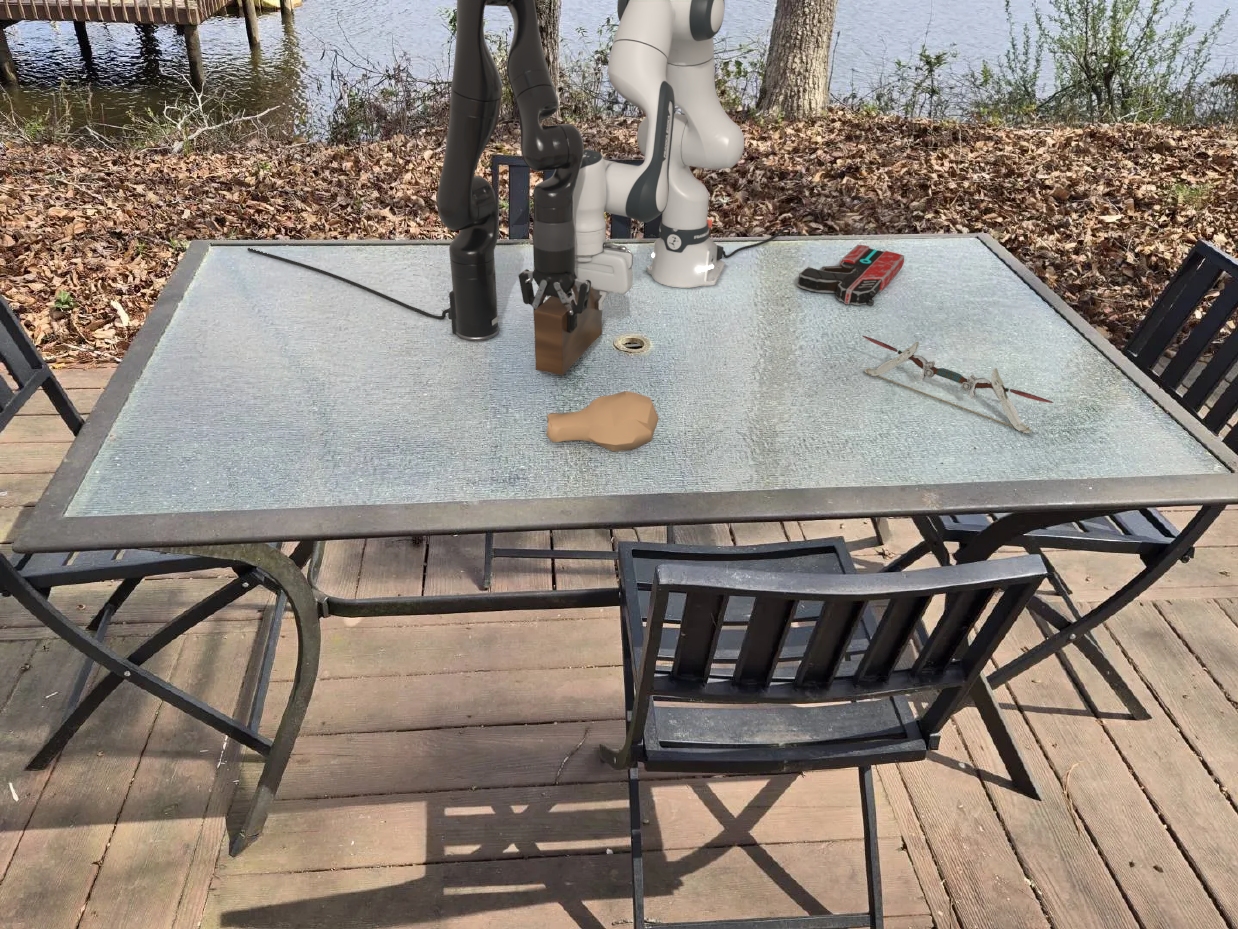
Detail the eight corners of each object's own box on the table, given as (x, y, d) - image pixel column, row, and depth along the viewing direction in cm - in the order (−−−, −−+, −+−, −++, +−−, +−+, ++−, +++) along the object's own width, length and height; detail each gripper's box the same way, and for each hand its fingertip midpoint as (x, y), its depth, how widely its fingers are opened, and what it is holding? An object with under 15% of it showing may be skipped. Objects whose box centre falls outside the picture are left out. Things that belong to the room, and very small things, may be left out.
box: (562, 375, 168) (561, 315, 161) (535, 369, 169) (533, 310, 162) (601, 333, 183) (602, 278, 176) (576, 329, 185) (576, 273, 178)
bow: (1043, 436, 162) (1060, 388, 156) (1039, 439, 161) (1056, 392, 155) (858, 367, 183) (866, 322, 177) (853, 369, 182) (862, 325, 176)
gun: (795, 274, 213) (872, 294, 206) (838, 237, 235) (909, 253, 227) (792, 292, 216) (868, 311, 208) (835, 253, 238) (905, 269, 230)
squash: (661, 458, 153) (657, 419, 147) (548, 466, 154) (539, 428, 148) (659, 417, 161) (656, 379, 154) (552, 426, 162) (544, 388, 156)
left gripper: (599, 241, 158) (597, 327, 167) (527, 230, 162) (529, 314, 172) (582, 254, 152) (582, 343, 162) (508, 242, 156) (512, 329, 166)
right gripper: (638, 242, 169) (636, 308, 177) (542, 227, 175) (544, 292, 183) (627, 252, 164) (625, 320, 172) (529, 236, 170) (531, 303, 178)
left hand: (555, 327), depth 167 cm, fingers closed on box, 5 cm apart
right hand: (582, 305), depth 178 cm, fingers closed on box, 6 cm apart
